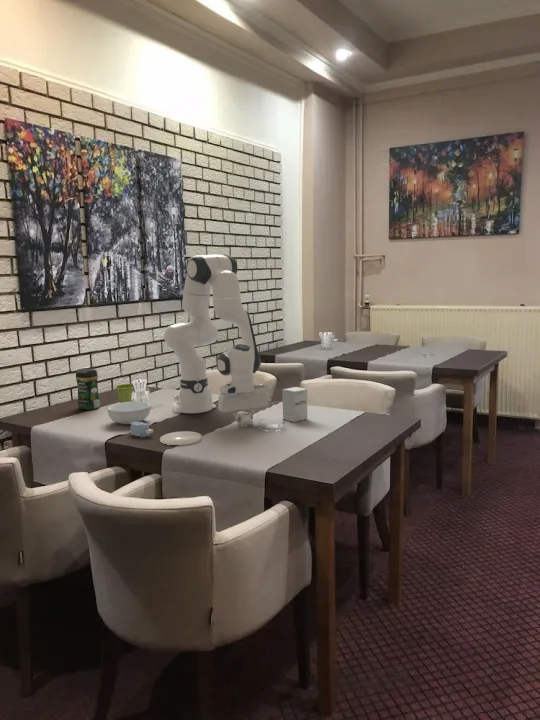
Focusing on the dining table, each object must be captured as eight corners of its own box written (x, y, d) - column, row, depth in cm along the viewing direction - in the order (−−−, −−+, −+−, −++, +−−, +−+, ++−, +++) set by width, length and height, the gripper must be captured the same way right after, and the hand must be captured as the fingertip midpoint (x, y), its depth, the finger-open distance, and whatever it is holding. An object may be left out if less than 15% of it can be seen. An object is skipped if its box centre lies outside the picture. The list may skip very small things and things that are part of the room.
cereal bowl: (100, 425, 235) (98, 408, 234) (127, 416, 249) (126, 400, 248) (132, 429, 227) (131, 412, 226) (159, 419, 242) (158, 403, 241)
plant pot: (141, 402, 274) (139, 384, 273) (126, 407, 266) (125, 388, 265) (126, 400, 279) (125, 383, 278) (112, 405, 271) (110, 386, 270)
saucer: (155, 437, 215) (155, 434, 215) (194, 431, 221) (194, 429, 221) (165, 448, 202) (165, 445, 201) (206, 441, 207) (206, 439, 207)
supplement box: (294, 422, 230) (293, 391, 228) (282, 419, 236) (281, 389, 234) (308, 419, 235) (307, 388, 233) (295, 416, 240) (295, 386, 238)
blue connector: (129, 434, 220) (128, 423, 219) (136, 432, 223) (136, 421, 222) (147, 438, 214) (146, 427, 214) (154, 436, 217) (154, 424, 217)
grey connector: (236, 422, 233) (235, 412, 232) (245, 421, 234) (244, 411, 233) (245, 428, 223) (245, 417, 223) (254, 427, 225) (254, 416, 224)
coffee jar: (75, 409, 265) (71, 369, 263) (88, 405, 272) (85, 366, 269) (89, 411, 260) (86, 370, 257) (103, 407, 267) (100, 367, 264)
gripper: (264, 382, 234) (265, 415, 236) (216, 387, 226) (217, 422, 228) (270, 384, 229) (271, 418, 231) (221, 390, 220) (222, 425, 223)
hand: (244, 420), depth 229 cm, fingers open, 4 cm apart
